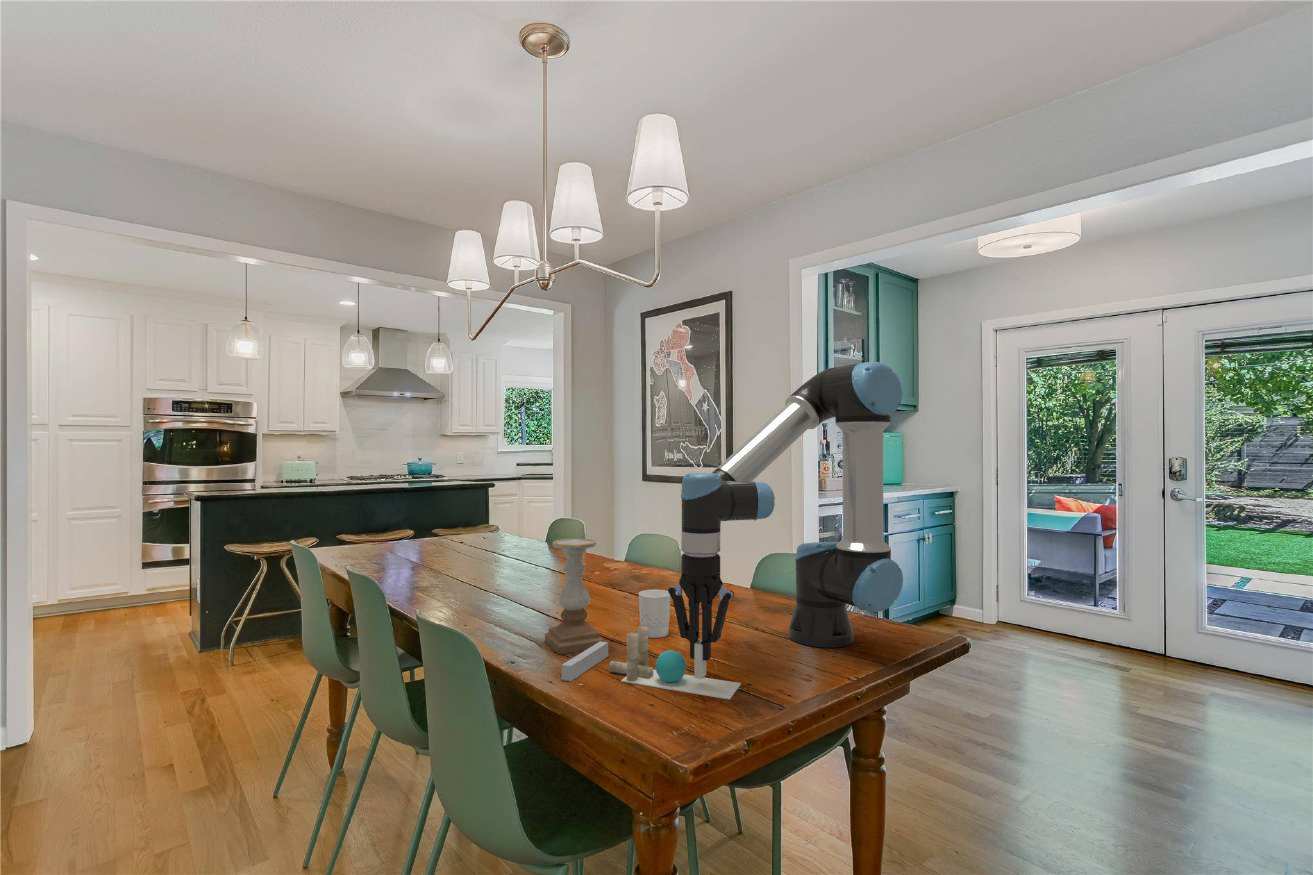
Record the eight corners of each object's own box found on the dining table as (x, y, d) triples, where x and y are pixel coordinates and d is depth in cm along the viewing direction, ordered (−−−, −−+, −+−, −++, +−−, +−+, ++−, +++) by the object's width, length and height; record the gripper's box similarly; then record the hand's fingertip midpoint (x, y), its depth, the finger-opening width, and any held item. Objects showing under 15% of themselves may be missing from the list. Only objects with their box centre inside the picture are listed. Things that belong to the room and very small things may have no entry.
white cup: (671, 629, 156) (671, 589, 156) (669, 639, 148) (669, 597, 148) (640, 628, 157) (640, 589, 157) (636, 638, 149) (636, 596, 149)
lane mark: (741, 684, 120) (741, 683, 120) (729, 699, 113) (729, 698, 113) (637, 668, 129) (637, 667, 129) (621, 681, 122) (621, 680, 122)
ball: (664, 644, 126) (659, 673, 125) (653, 650, 120) (648, 681, 120) (692, 651, 124) (687, 681, 123) (682, 657, 118) (677, 689, 118)
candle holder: (558, 655, 137) (559, 546, 137) (543, 641, 146) (544, 539, 147) (604, 647, 142) (605, 543, 142) (587, 634, 152) (588, 536, 152)
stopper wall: (608, 656, 136) (608, 642, 136) (570, 681, 121) (570, 666, 121) (600, 654, 137) (600, 641, 137) (561, 679, 122) (561, 664, 122)
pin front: (653, 665, 124) (613, 658, 128) (648, 670, 122) (608, 663, 126) (653, 676, 124) (614, 669, 128) (648, 680, 123) (608, 673, 126)
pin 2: (649, 670, 128) (649, 626, 128) (645, 674, 126) (645, 629, 126) (639, 669, 128) (640, 625, 129) (635, 672, 126) (635, 628, 126)
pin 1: (639, 678, 123) (639, 633, 123) (634, 682, 121) (635, 636, 121) (629, 677, 124) (629, 631, 124) (624, 681, 122) (624, 635, 122)
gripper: (738, 552, 121) (738, 674, 120) (676, 548, 126) (675, 665, 125) (728, 559, 114) (727, 688, 114) (662, 553, 119) (661, 677, 119)
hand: (700, 676), depth 120 cm, fingers closed
